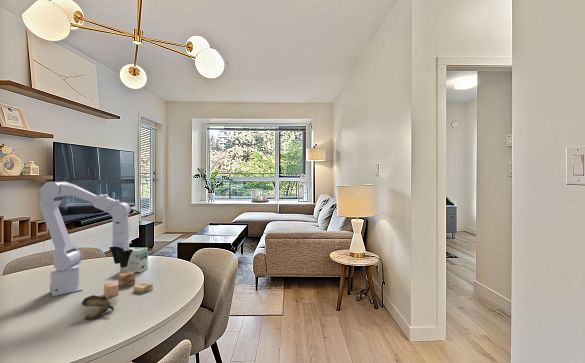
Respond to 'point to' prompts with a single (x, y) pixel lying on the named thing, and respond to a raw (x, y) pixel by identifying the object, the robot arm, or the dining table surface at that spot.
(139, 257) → the light bulb box
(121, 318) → the dining table surface
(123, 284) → the tower base
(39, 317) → the dining table surface
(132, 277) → the tower top
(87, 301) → the eagle figurine
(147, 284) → the slab
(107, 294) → the terracotta cube
